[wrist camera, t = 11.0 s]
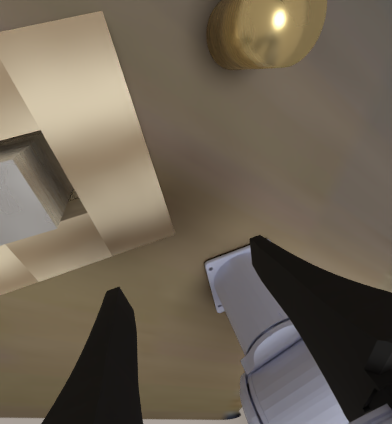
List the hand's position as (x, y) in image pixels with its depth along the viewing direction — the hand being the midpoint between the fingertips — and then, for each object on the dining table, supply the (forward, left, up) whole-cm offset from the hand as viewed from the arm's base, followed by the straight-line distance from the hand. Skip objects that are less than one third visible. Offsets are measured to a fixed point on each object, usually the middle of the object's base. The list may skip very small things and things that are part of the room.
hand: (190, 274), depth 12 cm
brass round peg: (+10, -8, -9) cm, 16 cm away
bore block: (+5, +8, -9) cm, 13 cm away
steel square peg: (+5, +8, -10) cm, 14 cm away
